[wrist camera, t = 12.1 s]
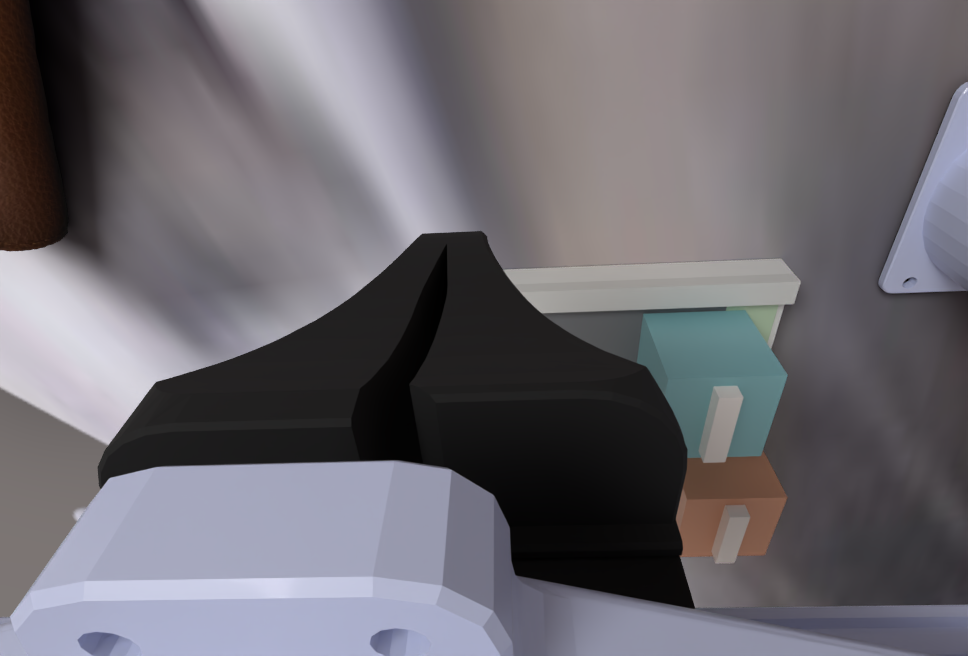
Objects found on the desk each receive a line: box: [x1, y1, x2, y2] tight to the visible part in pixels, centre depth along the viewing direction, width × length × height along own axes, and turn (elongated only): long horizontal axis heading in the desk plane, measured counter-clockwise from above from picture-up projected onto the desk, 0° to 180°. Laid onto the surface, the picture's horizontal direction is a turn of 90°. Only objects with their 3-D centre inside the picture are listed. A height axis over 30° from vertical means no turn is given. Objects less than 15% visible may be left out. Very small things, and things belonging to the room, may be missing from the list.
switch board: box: [503, 259, 801, 363], centre depth 27 cm, size 16×15×2 cm
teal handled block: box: [637, 310, 788, 463], centre depth 22 cm, size 4×4×5 cm
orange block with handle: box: [676, 451, 787, 564], centre depth 25 cm, size 4×4×5 cm
